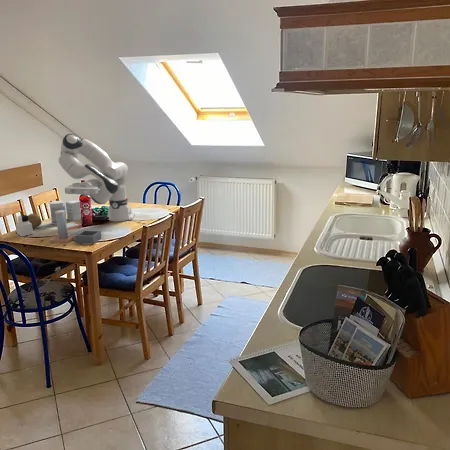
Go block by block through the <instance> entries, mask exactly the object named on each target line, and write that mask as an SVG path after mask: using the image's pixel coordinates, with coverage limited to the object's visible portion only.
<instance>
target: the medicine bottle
mask: <svg viewBox="0 0 450 450" xmlns="http://www.w3.org/2000/svg"><path fill="white" fill-rule="evenodd" d="M15 228H16V229H15V230H16V234H17V235H18V236H20V237H26V235H28V236H31V235H30V234H32V235H34V232H33V231H34V229H33V228H32V223H30V222H29V218H28V215H26V214H21V215H19V216H17V223H15Z"/></svg>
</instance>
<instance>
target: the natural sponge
mask: <svg viewBox="0 0 450 450" xmlns="http://www.w3.org/2000/svg"><path fill="white" fill-rule="evenodd" d="M27 216H28V218H29V222H30V223H32V229H33V230H36V229H38V227H40V226H41V225H42V219H41V217H40V216H39V215H38V214H36V213H30V214H28V215H27ZM35 228H36V229H35Z"/></svg>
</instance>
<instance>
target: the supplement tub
mask: <svg viewBox="0 0 450 450" xmlns="http://www.w3.org/2000/svg"><path fill="white" fill-rule="evenodd" d="M49 210H50V218H51V224H52V225H53V224H54V225H53V226H57V221H56V214H55V211H59V210H64V211H65V219H66V224H67V223H68V219H67V210H66V202H65V201H64V200H55V201H50V202H49Z"/></svg>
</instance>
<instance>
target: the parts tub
mask: <svg viewBox="0 0 450 450" xmlns="http://www.w3.org/2000/svg"><path fill="white" fill-rule="evenodd" d="M75 235H76V238H75V243H76V244H91V245H93V244H96V243H97V242H98V241H100V240H101V239H102V231H101V230H82V231H80V232H79V233H77V234H75ZM99 239H100V240H99Z"/></svg>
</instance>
